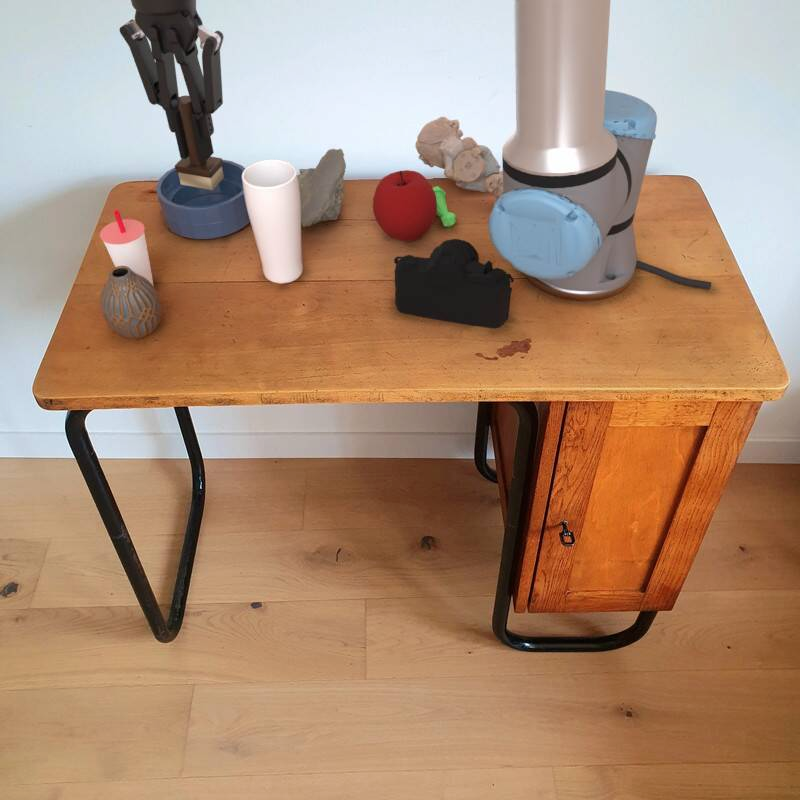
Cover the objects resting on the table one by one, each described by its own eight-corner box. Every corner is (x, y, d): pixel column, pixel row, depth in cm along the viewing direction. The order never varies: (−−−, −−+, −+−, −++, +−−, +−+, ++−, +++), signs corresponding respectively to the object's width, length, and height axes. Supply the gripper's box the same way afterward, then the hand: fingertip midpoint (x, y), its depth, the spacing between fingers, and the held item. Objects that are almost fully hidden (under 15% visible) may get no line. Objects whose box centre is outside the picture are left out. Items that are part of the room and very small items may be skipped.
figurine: (464, 119, 122) (550, 196, 114) (433, 164, 125) (514, 241, 118) (433, 105, 114) (522, 186, 107) (402, 153, 118) (486, 235, 111)
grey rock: (350, 216, 119) (295, 181, 119) (376, 160, 113) (318, 123, 112) (310, 255, 109) (250, 217, 109) (338, 196, 102) (273, 155, 102)
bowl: (271, 199, 116) (266, 166, 112) (231, 249, 108) (224, 215, 104) (192, 185, 119) (185, 153, 115) (148, 233, 111) (138, 199, 107)
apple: (447, 241, 108) (450, 177, 101) (388, 257, 106) (386, 192, 99) (421, 207, 114) (422, 145, 107) (364, 221, 112) (361, 158, 105)
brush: (225, 177, 110) (210, 95, 101) (213, 191, 108) (196, 108, 99) (191, 171, 111) (173, 89, 102) (178, 184, 109) (159, 102, 100)
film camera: (517, 287, 102) (525, 229, 95) (504, 334, 95) (511, 276, 89) (406, 268, 105) (406, 211, 98) (386, 313, 98) (384, 255, 92)
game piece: (413, 209, 112) (435, 236, 110) (426, 185, 110) (449, 211, 107) (435, 211, 115) (456, 237, 112) (448, 187, 113) (470, 213, 110)
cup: (152, 303, 100) (127, 224, 91) (113, 299, 101) (84, 220, 92) (167, 277, 104) (144, 199, 95) (129, 274, 104) (103, 196, 95)
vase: (99, 329, 97) (77, 273, 90) (145, 302, 100) (127, 246, 94) (132, 354, 93) (111, 298, 87) (178, 326, 97) (162, 269, 90)
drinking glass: (300, 292, 101) (287, 191, 90) (251, 285, 102) (232, 185, 91) (314, 261, 106) (304, 161, 95) (267, 255, 107) (251, 156, 96)
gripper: (81, -27, 89) (134, 160, 106) (201, -13, 85) (235, 178, 103) (117, -48, 93) (162, 134, 111) (231, -35, 90) (259, 150, 107)
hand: (197, 155), depth 107 cm, fingers closed on brush, 2 cm apart
